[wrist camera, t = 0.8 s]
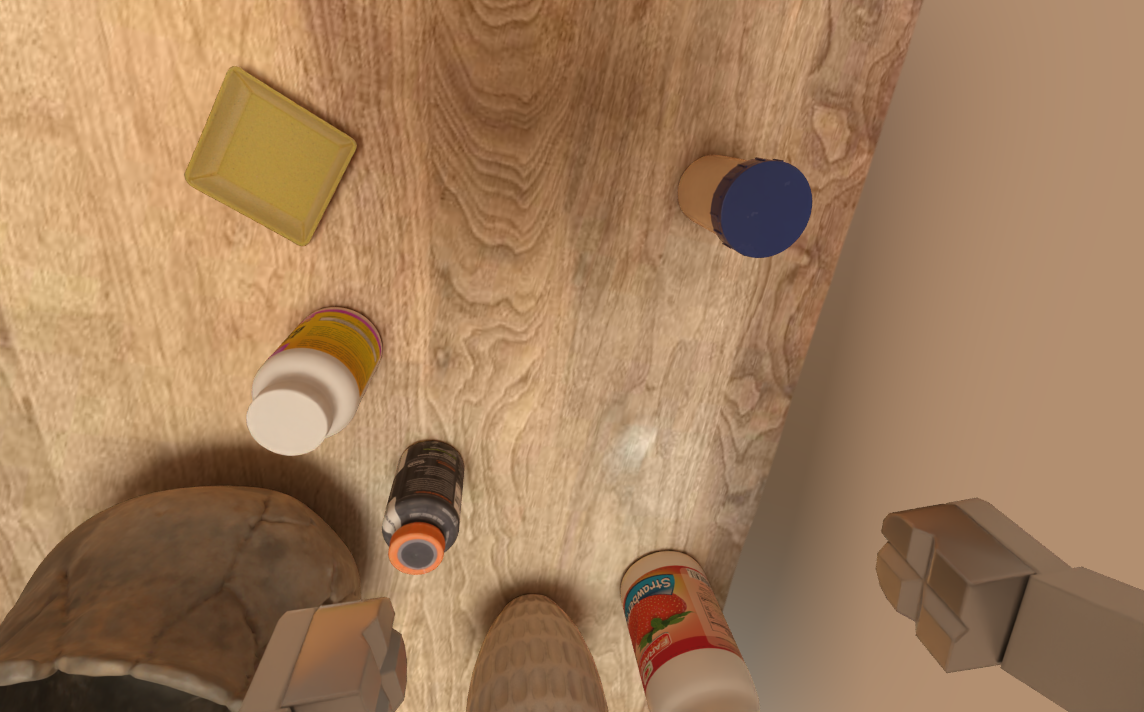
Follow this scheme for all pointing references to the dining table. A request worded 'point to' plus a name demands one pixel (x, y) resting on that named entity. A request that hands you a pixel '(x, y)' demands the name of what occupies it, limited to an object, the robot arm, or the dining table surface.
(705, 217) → the jar
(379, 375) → the dining table surface
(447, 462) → the pill bottle
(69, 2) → the dining table surface
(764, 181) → the lid
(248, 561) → the pot
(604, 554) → the dining table surface
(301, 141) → the yellow square tray
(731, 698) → the fruit juice
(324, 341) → the supplement bottle
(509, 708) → the vase
